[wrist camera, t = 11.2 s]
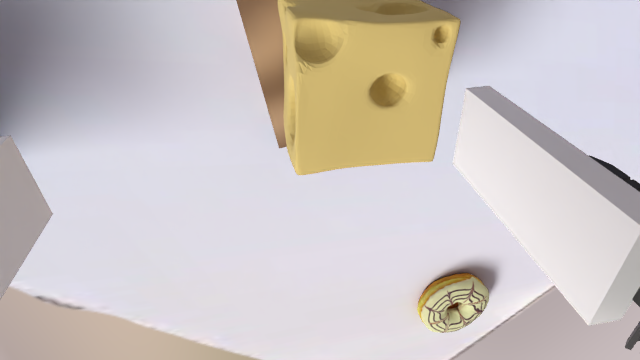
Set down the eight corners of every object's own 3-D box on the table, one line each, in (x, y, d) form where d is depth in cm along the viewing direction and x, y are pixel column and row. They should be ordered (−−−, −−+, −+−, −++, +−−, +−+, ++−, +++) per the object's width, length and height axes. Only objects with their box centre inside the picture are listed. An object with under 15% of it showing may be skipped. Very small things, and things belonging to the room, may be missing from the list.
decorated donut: (487, 297, 64) (500, 316, 61) (426, 325, 65) (436, 345, 62) (471, 258, 58) (484, 277, 55) (405, 290, 60) (414, 311, 56)
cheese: (275, -10, 30) (288, 15, 21) (413, -10, 31) (475, 14, 23) (279, 119, 35) (291, 180, 27) (396, 114, 37) (442, 169, 29)
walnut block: (236, -13, 34) (235, -2, 30) (381, -48, 35) (404, -43, 30) (274, 121, 42) (279, 148, 37) (394, 91, 42) (414, 113, 37)
